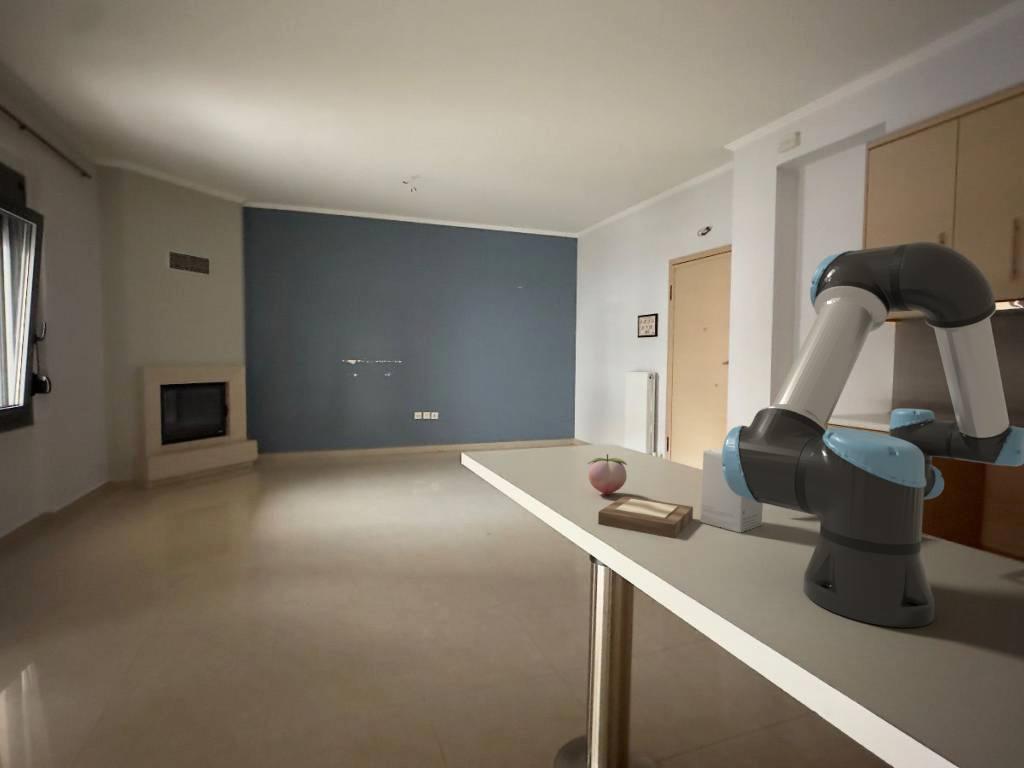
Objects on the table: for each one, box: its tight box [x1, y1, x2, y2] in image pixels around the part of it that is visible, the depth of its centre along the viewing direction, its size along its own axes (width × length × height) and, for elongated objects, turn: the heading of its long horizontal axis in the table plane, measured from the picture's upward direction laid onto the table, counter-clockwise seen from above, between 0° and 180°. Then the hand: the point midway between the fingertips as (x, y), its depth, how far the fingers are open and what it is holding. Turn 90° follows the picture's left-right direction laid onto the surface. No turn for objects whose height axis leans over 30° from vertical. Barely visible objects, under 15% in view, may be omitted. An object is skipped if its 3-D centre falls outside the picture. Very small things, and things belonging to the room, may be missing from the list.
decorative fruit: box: [587, 454, 628, 496], centre depth 133 cm, size 9×8×10 cm
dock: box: [597, 495, 694, 539], centre depth 112 cm, size 15×15×3 cm
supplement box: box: [699, 447, 764, 534], centre depth 111 cm, size 9×9×15 cm
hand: (776, 484), depth 112 cm, fingers open, 13 cm apart
